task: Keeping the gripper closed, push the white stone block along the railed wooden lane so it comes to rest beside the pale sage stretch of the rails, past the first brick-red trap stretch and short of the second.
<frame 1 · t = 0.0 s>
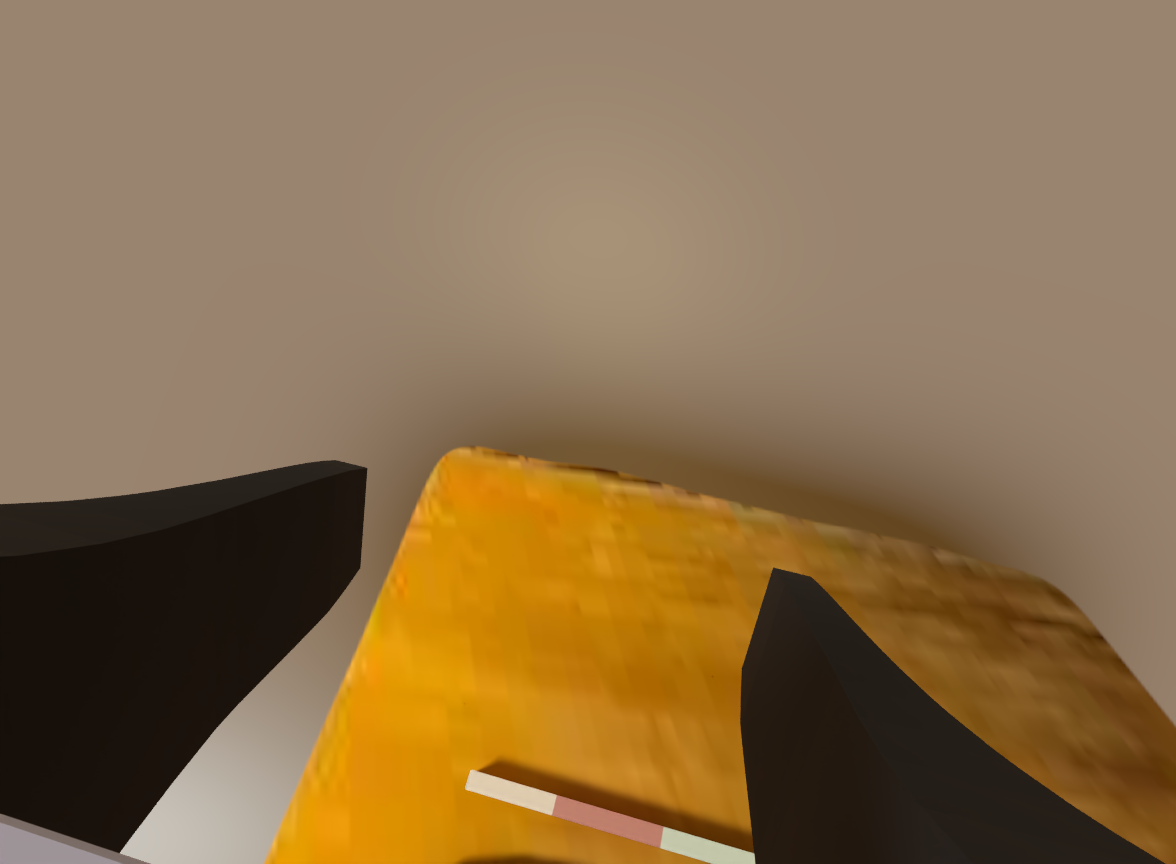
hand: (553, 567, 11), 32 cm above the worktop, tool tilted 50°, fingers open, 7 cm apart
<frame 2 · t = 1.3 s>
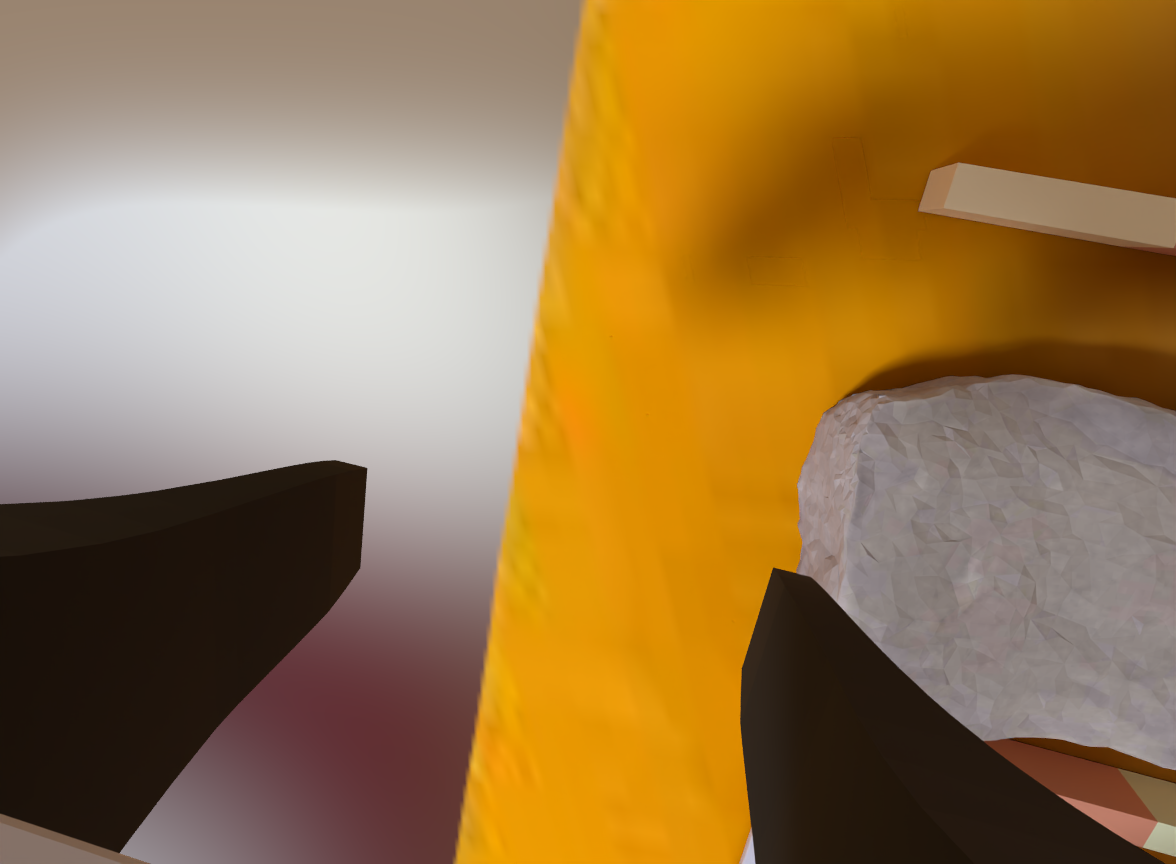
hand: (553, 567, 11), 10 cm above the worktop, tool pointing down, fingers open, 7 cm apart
stone block: (995, 524, 20), on the worktop
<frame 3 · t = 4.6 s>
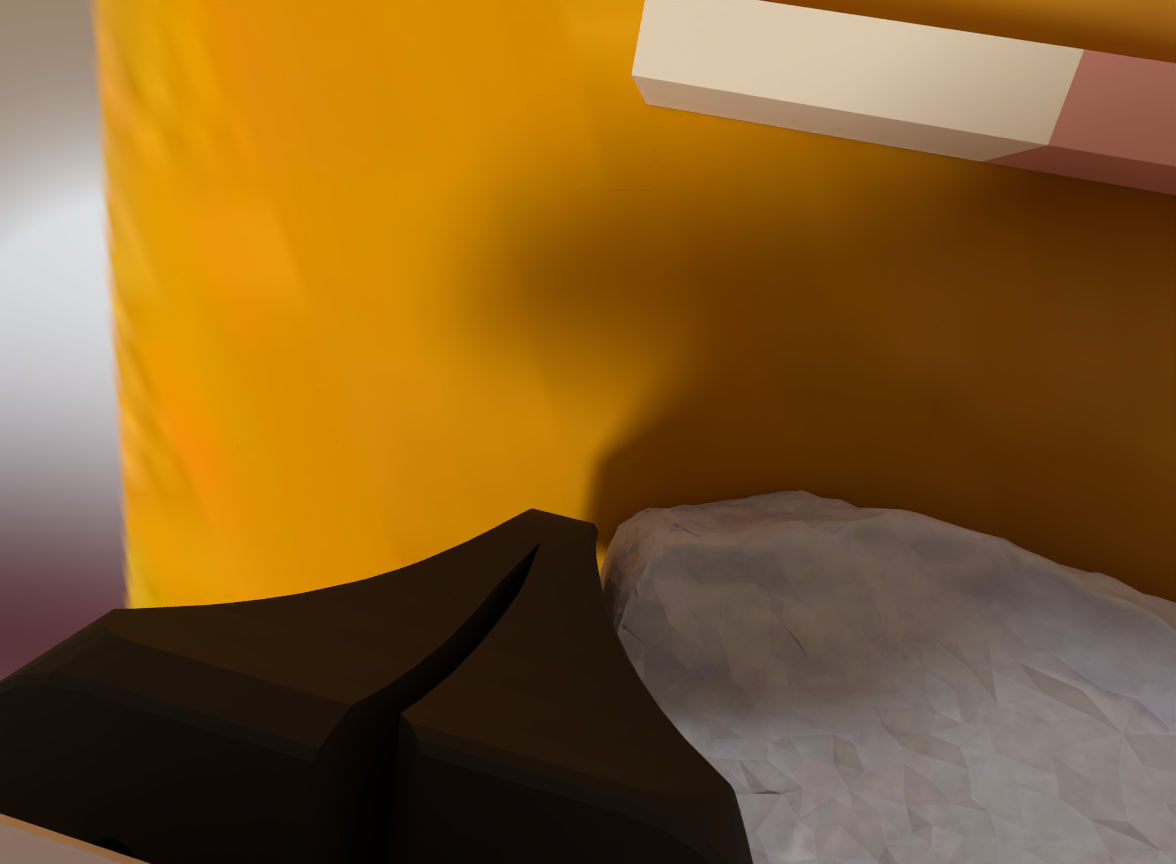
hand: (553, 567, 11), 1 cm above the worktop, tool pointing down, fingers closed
stone block: (875, 706, 13), on the worktop, touching gripper
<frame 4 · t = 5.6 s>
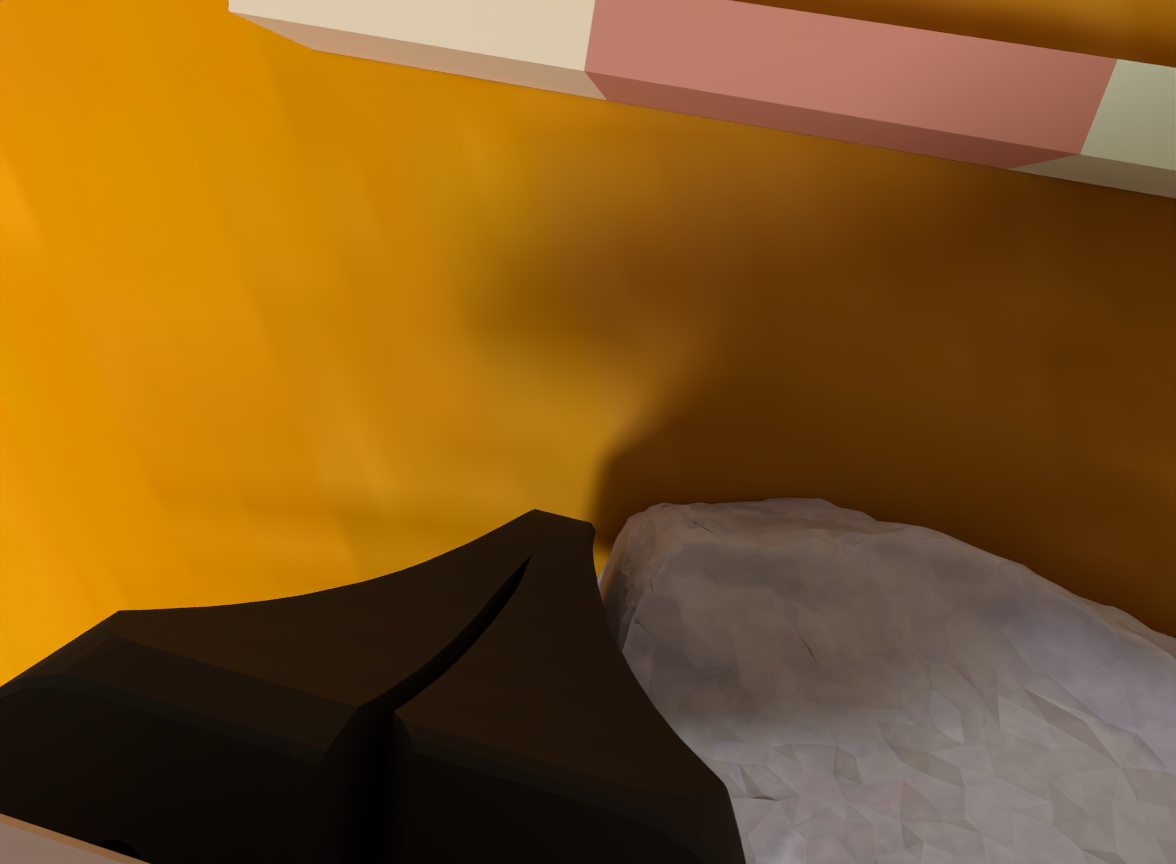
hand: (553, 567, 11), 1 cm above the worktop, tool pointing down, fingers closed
stone block: (864, 719, 13), on the worktop, touching gripper
trap lane: (932, 624, 12), on the worktop
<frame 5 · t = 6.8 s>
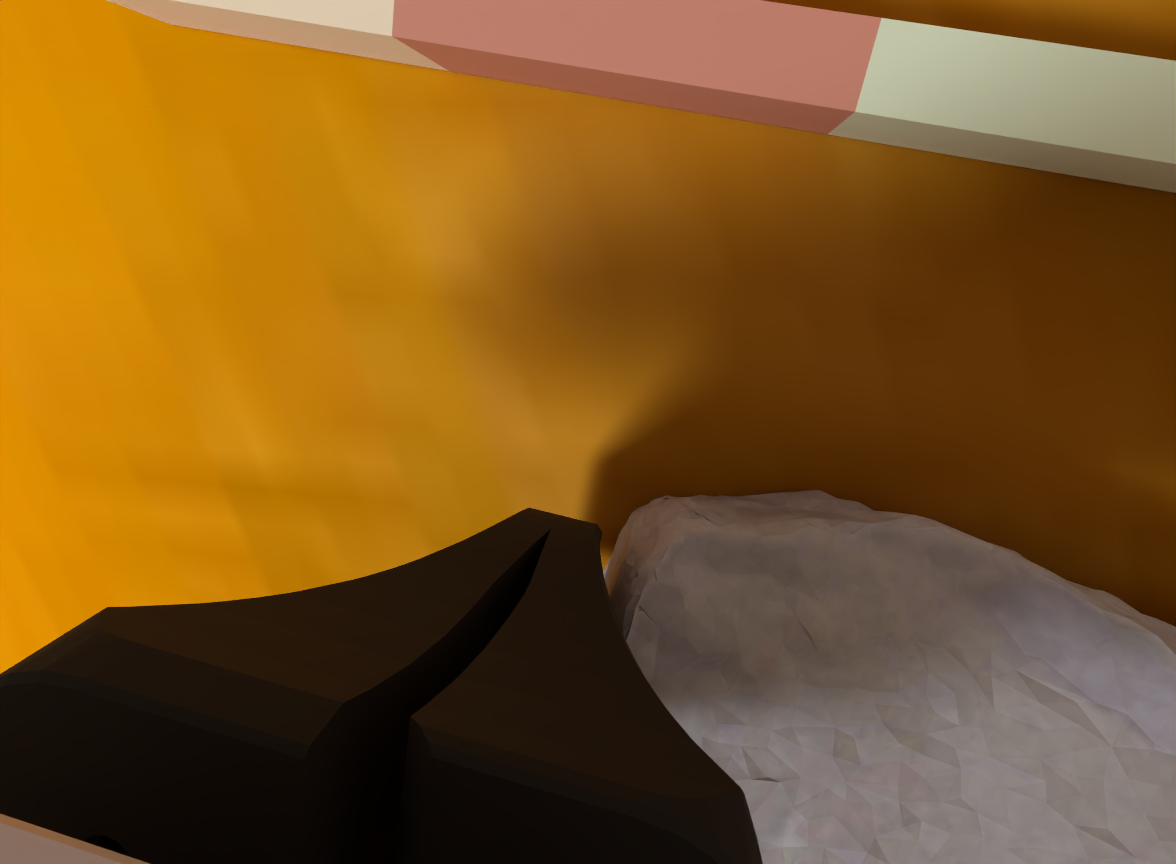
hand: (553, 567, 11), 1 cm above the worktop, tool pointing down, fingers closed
stone block: (864, 707, 13), on the worktop
trap lane: (789, 586, 12), on the worktop
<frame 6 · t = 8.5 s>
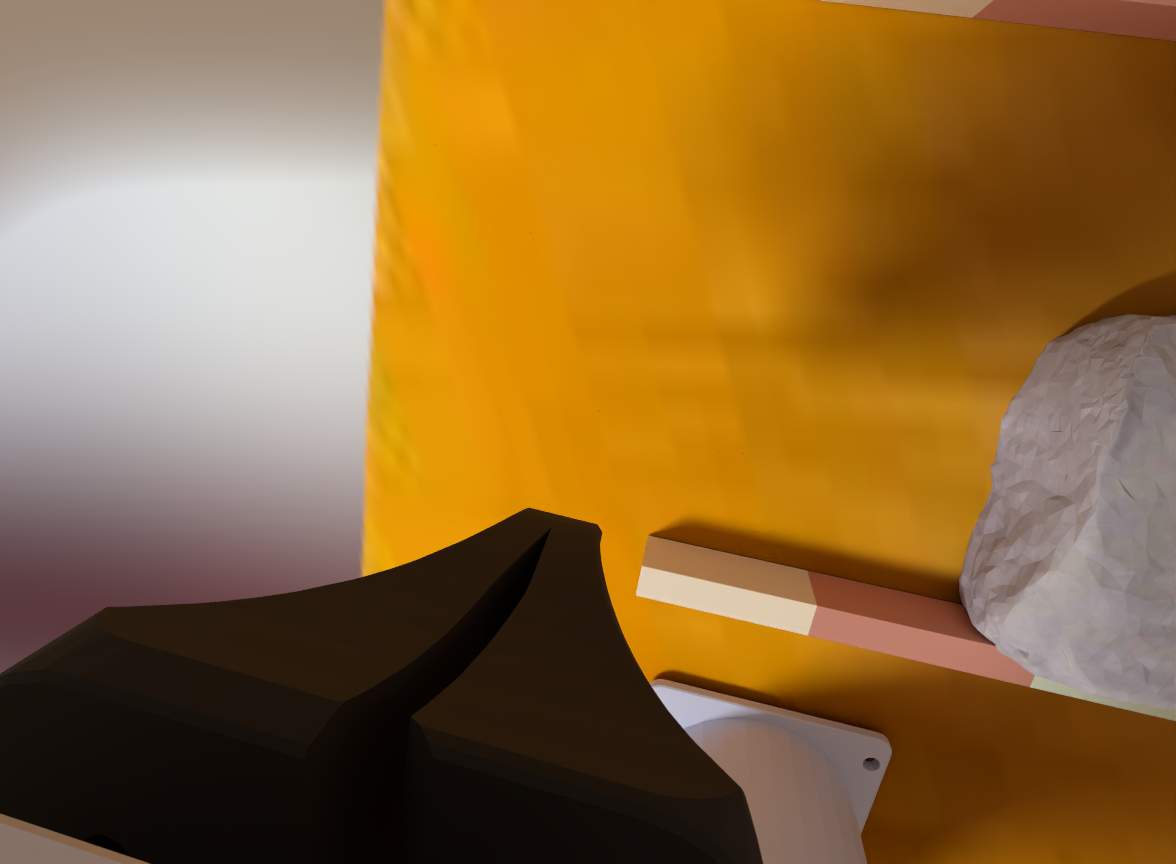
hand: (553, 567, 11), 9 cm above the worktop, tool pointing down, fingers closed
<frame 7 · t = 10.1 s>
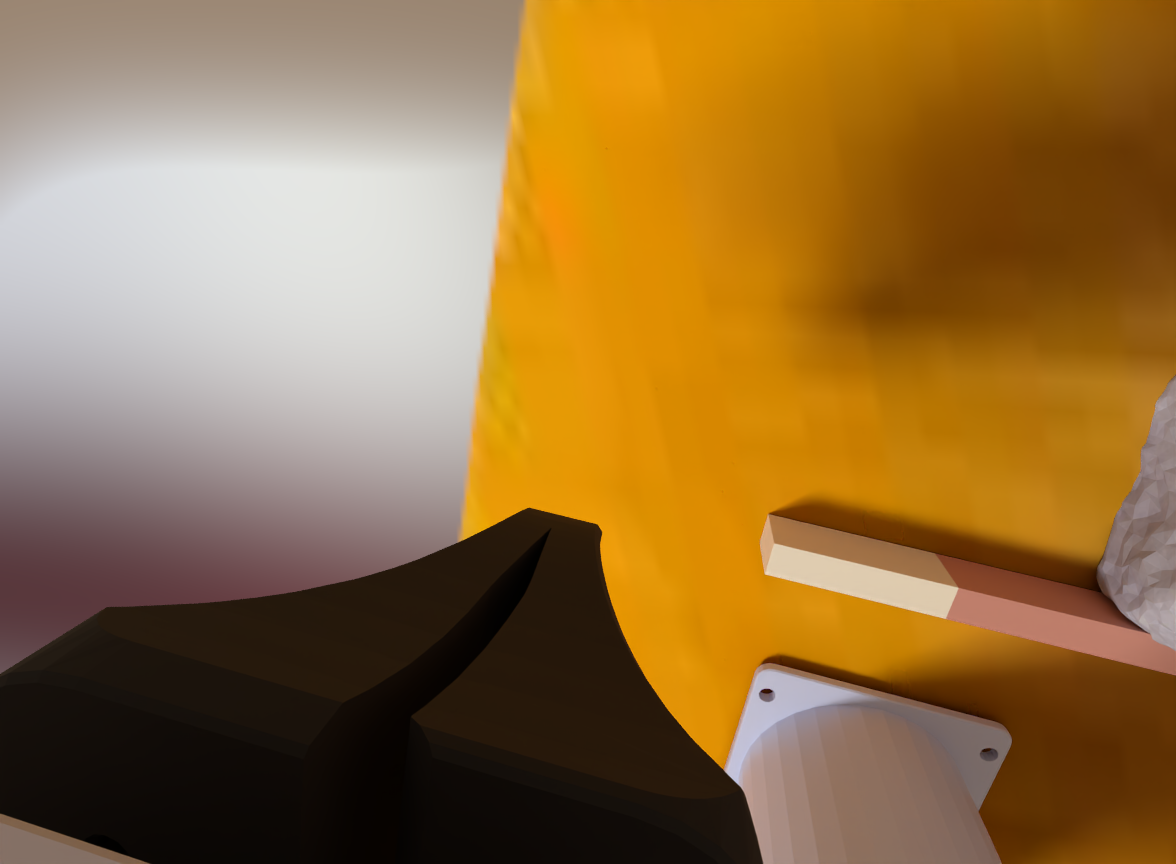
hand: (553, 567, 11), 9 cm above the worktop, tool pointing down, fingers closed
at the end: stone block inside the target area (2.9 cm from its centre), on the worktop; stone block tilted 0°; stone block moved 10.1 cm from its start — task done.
